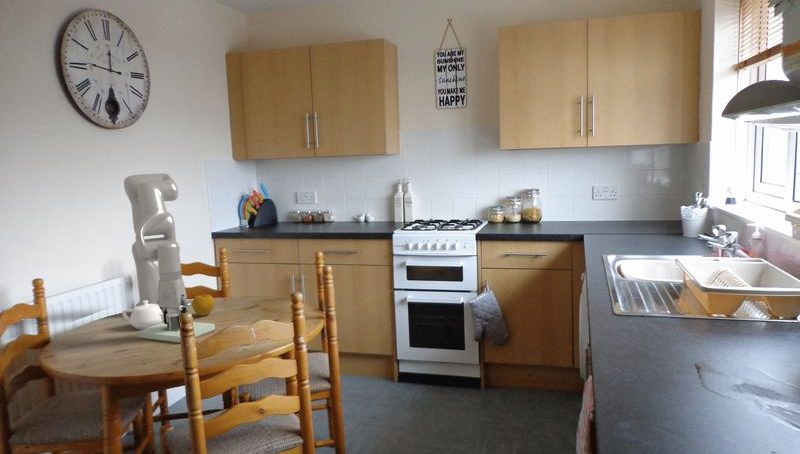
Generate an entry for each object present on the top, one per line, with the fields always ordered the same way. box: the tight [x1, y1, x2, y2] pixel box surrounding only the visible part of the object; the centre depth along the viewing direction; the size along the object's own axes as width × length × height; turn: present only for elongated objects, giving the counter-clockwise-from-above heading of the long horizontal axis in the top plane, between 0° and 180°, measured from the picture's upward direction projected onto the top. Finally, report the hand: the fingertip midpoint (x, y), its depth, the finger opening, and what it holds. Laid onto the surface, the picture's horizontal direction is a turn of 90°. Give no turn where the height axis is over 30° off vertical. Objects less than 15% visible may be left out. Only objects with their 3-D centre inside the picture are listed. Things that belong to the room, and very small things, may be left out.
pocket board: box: [136, 321, 216, 344], centre depth 212 cm, size 22×16×2 cm
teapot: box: [122, 300, 164, 330], centre depth 224 cm, size 20×12×10 cm, turn 88°
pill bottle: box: [166, 308, 180, 332], centre depth 211 cm, size 6×6×10 cm
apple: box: [191, 294, 216, 317], centre depth 236 cm, size 9×9×9 cm
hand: (175, 323), depth 211 cm, fingers open, 6 cm apart
